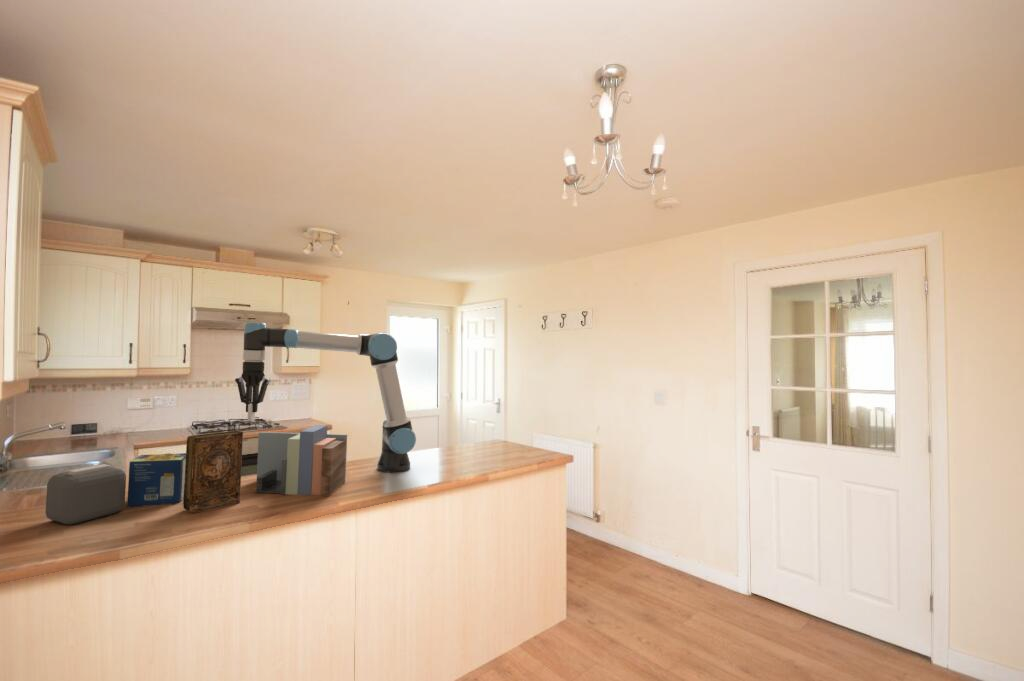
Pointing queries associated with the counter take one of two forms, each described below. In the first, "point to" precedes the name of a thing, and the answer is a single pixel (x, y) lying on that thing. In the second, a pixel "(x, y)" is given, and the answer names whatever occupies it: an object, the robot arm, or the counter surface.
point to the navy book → (308, 456)
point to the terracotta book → (318, 464)
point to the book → (212, 471)
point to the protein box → (156, 479)
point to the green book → (292, 465)
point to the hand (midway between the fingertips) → (251, 420)
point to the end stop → (332, 467)
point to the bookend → (272, 481)
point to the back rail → (280, 451)
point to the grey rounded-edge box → (85, 494)
